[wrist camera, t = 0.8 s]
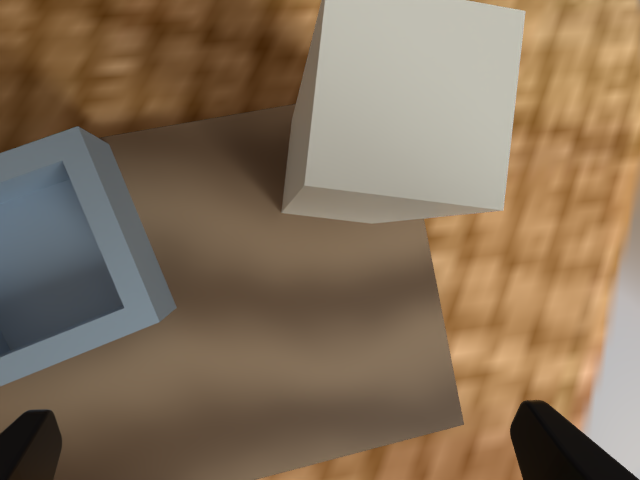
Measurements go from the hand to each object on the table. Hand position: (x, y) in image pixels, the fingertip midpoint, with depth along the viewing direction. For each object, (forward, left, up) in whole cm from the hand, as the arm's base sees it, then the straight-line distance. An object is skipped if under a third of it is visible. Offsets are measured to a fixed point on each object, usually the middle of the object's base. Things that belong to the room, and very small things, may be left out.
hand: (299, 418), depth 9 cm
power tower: (+6, -4, -13) cm, 15 cm away
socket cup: (+4, +9, -13) cm, 17 cm away
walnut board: (+1, +3, -14) cm, 14 cm away
